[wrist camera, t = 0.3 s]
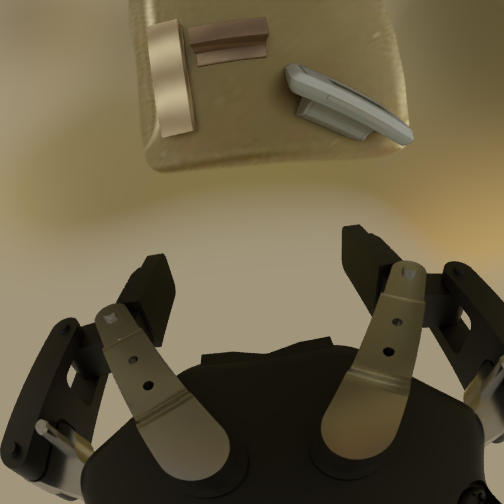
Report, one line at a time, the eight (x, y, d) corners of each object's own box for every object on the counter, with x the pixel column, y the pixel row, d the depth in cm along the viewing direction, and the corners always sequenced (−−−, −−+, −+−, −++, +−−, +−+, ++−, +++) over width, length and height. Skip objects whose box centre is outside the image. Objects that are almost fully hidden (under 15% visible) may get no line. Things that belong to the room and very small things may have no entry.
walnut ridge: (193, 30, 27) (186, 16, 22) (259, 21, 27) (263, 5, 22) (198, 66, 30) (191, 57, 24) (266, 57, 29) (271, 46, 24)
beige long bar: (154, 35, 27) (146, 27, 23) (182, 27, 27) (176, 18, 23) (169, 136, 34) (161, 137, 30) (197, 129, 34) (192, 130, 30)
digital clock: (388, 113, 33) (430, 116, 24) (359, 159, 36) (396, 174, 27) (298, 48, 29) (319, 24, 19) (265, 97, 32) (275, 88, 23)
